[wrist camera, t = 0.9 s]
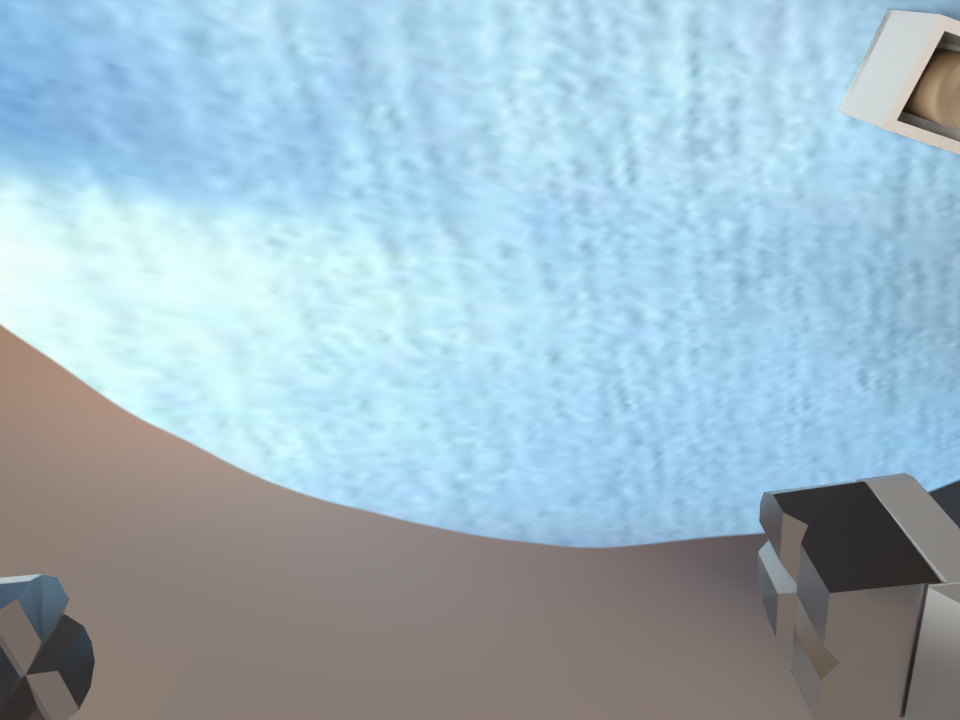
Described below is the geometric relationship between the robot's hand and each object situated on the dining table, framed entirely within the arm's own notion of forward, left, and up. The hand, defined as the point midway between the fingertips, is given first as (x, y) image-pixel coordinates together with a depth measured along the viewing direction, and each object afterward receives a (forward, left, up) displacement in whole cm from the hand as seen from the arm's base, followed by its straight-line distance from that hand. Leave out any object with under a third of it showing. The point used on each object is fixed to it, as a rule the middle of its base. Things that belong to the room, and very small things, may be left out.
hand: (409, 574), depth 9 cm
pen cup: (-8, +25, -40) cm, 48 cm away
